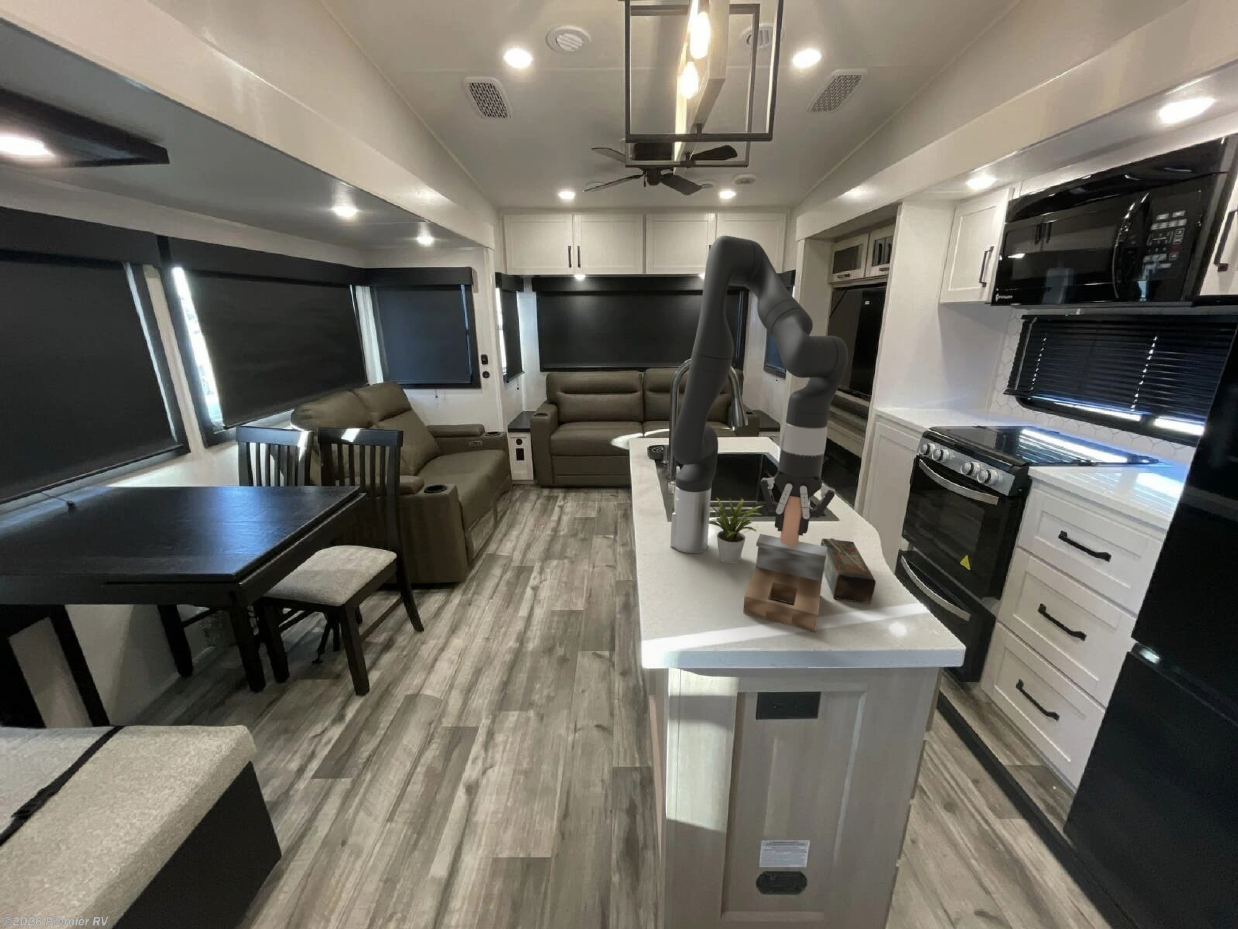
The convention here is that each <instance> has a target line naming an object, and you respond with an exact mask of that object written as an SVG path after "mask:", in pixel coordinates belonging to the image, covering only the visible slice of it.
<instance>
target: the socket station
mask: <svg viewBox="0 0 1238 929" xmlns="http://www.w3.org/2000/svg"><path fill="white" fill-rule="evenodd" d="M756 540H757V541H756V544H755V546H756V547H757V556H756V566H755V568H754V571H753V574H752V576H751V579H750V582H749V584H748V586H747V589H746V591H745V594H744V600H743V610H742V613H743V614H747V615H749V616H754V617H757V618H761V619H765V620H768V621H773V622H776V623H780V624H784V625H787V626H790V627H794V628H798V629H802V630H805V631H809V632H813V633H815V632H816V630H817V622H818V618H819V609H820V607H819V606H820V602H821V601H820V599H821V591H822V584H823V577H824V565H825V561H826V553H827V547H825V546H821V544H816V543H815V544H814V543H809V542H804V541H798V544H797V545H795V546H789V545H785V544H783V543H781V542H780V537H779V536H773V535H767V534H762V533H760V534H759V535H758V538H757V539H756ZM773 599H774V600H773ZM776 600H777V601H776ZM779 601H780V602H779ZM787 603H789V604H787ZM792 604H793V605H792Z"/></svg>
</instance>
